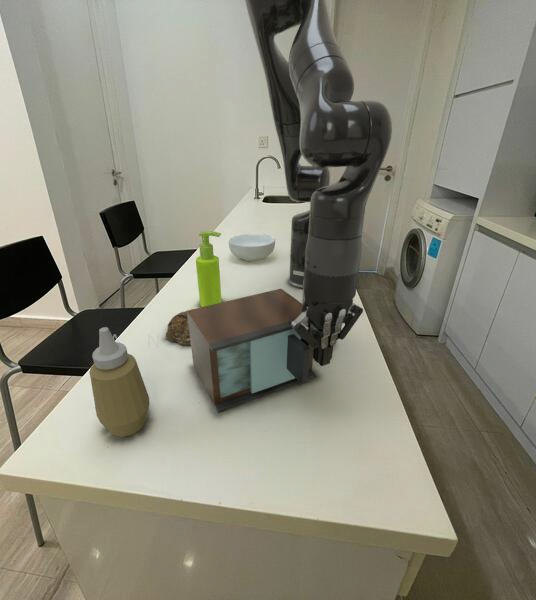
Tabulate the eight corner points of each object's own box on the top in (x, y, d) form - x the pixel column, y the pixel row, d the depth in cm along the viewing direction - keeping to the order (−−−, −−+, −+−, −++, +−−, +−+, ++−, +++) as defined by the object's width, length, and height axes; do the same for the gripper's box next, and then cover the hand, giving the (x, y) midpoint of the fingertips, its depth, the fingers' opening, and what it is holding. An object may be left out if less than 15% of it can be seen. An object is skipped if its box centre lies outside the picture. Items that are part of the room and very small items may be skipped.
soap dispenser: (222, 309, 87) (217, 235, 78) (197, 308, 89) (189, 235, 80) (227, 299, 92) (223, 229, 83) (203, 298, 94) (197, 228, 85)
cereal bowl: (282, 254, 125) (283, 236, 121) (261, 268, 112) (261, 249, 109) (244, 248, 133) (244, 230, 130) (220, 261, 121) (219, 242, 117)
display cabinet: (279, 341, 73) (281, 288, 68) (316, 377, 62) (321, 317, 57) (193, 367, 66) (186, 310, 60) (217, 412, 55) (212, 348, 49)
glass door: (296, 375, 62) (299, 324, 57) (314, 393, 57) (318, 340, 52) (250, 391, 58) (249, 339, 53) (265, 412, 54) (265, 357, 49)
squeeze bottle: (109, 407, 57) (83, 317, 49) (156, 402, 58) (138, 313, 50) (95, 446, 50) (62, 348, 42) (149, 441, 51) (126, 343, 42)
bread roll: (216, 315, 85) (214, 298, 83) (224, 341, 74) (223, 322, 72) (165, 322, 83) (162, 304, 80) (166, 350, 72) (163, 330, 70)
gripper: (308, 282, 42) (301, 388, 49) (386, 264, 46) (369, 363, 54) (277, 264, 48) (276, 361, 55) (349, 249, 52) (338, 340, 60)
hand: (322, 362), depth 55 cm, fingers closed
